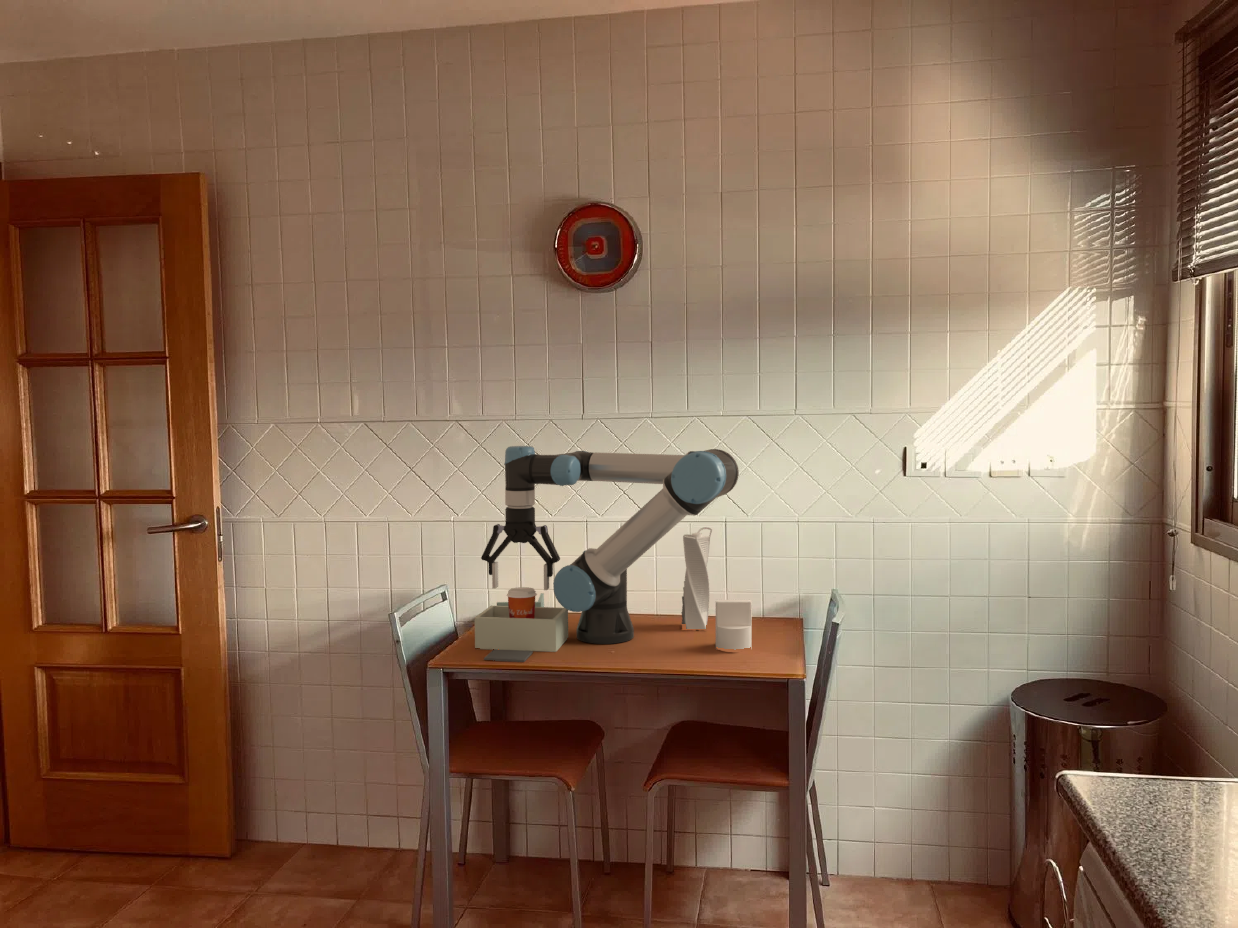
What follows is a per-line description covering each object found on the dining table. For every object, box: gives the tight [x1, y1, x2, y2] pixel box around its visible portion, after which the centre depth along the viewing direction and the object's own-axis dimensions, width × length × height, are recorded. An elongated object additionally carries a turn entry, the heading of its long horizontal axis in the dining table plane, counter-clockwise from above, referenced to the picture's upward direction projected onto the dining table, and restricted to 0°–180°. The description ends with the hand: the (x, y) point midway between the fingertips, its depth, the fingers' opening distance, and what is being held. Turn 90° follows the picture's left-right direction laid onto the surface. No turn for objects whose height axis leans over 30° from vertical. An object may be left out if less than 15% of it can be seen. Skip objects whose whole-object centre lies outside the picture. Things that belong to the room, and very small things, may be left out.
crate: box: [474, 605, 569, 653], centre depth 249 cm, size 21×14×8 cm, turn 80°
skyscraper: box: [681, 526, 713, 629], centre depth 263 cm, size 8×8×28 cm
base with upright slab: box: [715, 599, 753, 650], centre depth 243 cm, size 9×9×12 cm
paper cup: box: [506, 586, 538, 619], centre depth 249 cm, size 8×8×14 cm
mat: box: [483, 649, 534, 663], centre depth 237 cm, size 10×8×1 cm
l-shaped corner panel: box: [496, 592, 545, 607], centre depth 270 cm, size 12×12×8 cm
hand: (520, 588), depth 249 cm, fingers open, 13 cm apart
